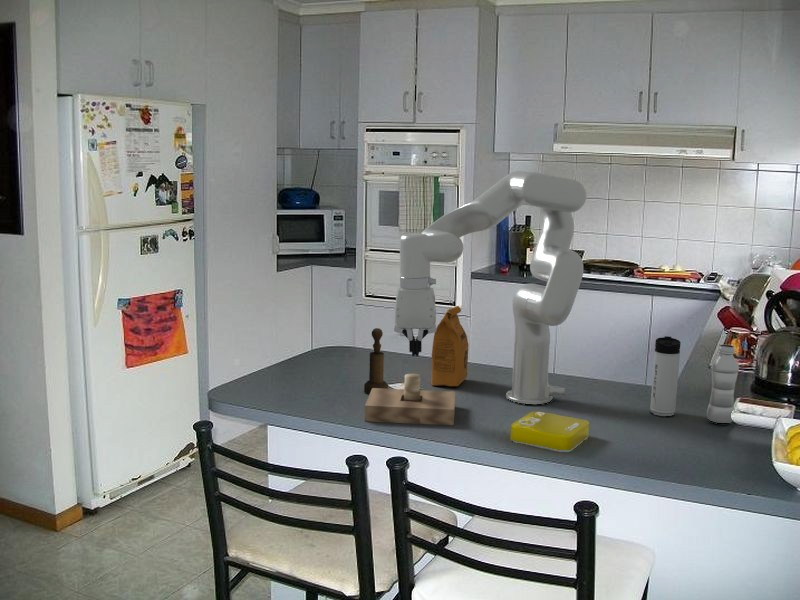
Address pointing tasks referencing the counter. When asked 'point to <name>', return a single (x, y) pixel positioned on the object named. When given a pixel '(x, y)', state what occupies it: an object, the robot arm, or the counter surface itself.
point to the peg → (412, 388)
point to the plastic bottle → (723, 385)
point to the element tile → (549, 430)
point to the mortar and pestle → (376, 364)
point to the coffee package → (449, 351)
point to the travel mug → (665, 375)
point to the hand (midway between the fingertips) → (415, 354)
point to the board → (410, 407)
